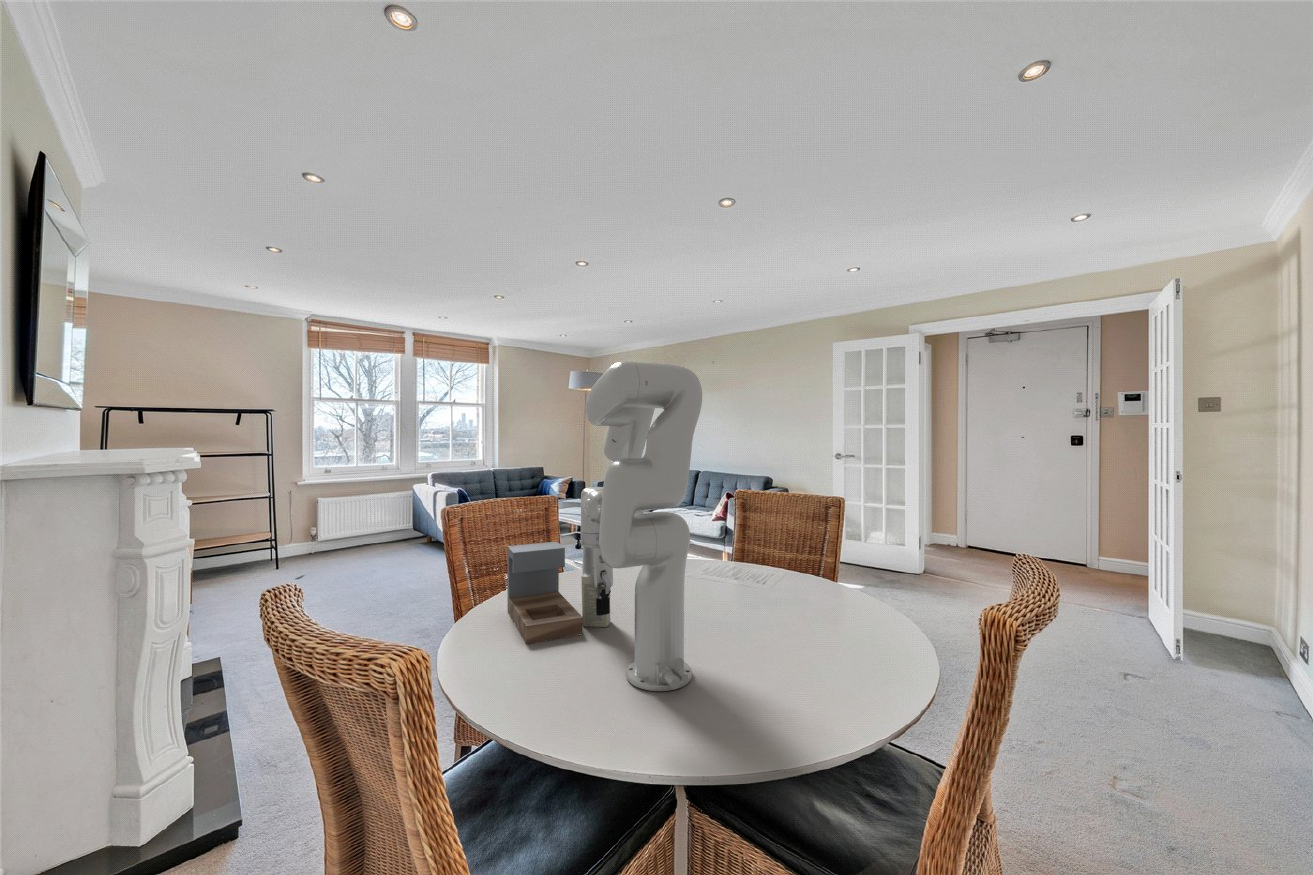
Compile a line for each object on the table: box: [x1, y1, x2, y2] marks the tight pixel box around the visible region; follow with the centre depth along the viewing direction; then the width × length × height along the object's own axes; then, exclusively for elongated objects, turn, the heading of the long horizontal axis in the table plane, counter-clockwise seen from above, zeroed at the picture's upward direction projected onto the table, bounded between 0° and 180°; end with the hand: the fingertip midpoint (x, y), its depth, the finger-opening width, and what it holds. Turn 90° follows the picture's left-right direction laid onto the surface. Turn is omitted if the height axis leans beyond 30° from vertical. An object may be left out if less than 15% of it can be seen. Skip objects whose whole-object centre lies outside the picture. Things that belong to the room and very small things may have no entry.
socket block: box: [508, 591, 584, 645], centre depth 129 cm, size 21×13×4 cm, turn 26°
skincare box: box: [580, 574, 611, 628], centre depth 129 cm, size 6×4×12 cm
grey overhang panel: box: [506, 541, 566, 614], centre depth 136 cm, size 8×13×17 cm, turn 116°
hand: (596, 608), depth 129 cm, fingers open, 9 cm apart
